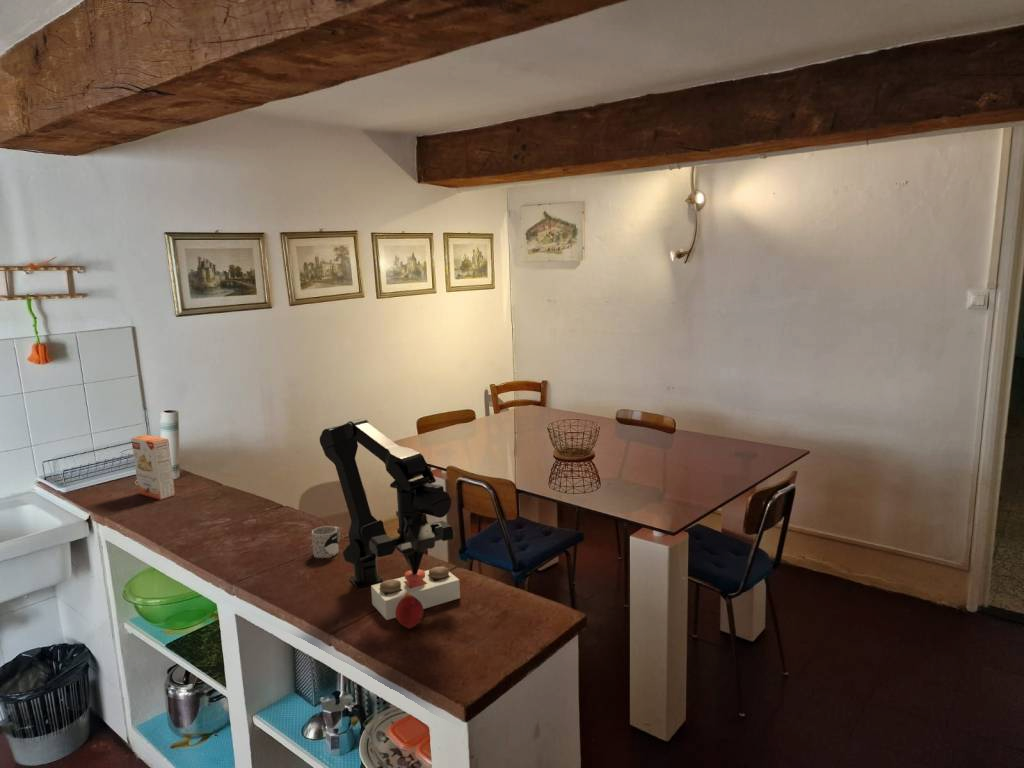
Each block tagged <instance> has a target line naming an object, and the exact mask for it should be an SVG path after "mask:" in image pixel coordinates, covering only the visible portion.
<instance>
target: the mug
mask: <svg viewBox="0 0 1024 768" xmlns="http://www.w3.org/2000/svg"><path fill="white" fill-rule="evenodd" d="M340 541H341V533H340V527H338V526H332V525H331V526H330V525H329V526H328V525H324V526H320V527H319V526H318V527H316V528H315V529H312V530H311V543H312V553H313V554H312V555H314V556H313V557H314V558H315V557H316V558H315V559H318V558H322V559H321V560H324V559H323V558H326V559H330V557H331V558H333V557H332V556H334V557H336V556H337V555H338V554H339V553H338V552H339V542H340ZM336 554H337V555H336ZM335 555H336V556H335Z"/></svg>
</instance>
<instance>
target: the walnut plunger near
mask: <svg viewBox="0 0 1024 768" xmlns="http://www.w3.org/2000/svg"><path fill="white" fill-rule="evenodd" d="M380 583H381V584H380V590H381V591H383V592H384V595H385V596H386V595H389V594H393V593H396V592H398V590H399V589H400V588H401V582H400V581H398V580H394V579H387V580H383V582H380Z"/></svg>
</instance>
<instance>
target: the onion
mask: <svg viewBox="0 0 1024 768" xmlns="http://www.w3.org/2000/svg"><path fill="white" fill-rule="evenodd" d="M395 614H396V617H395V618H396V620H397V622H399V624H401V625H402V626H403V627H405V628H407V629H409V630H410V629H411V630H412V628H414V627H415V626H417V625H418V624H419V623H420V622H421V621H422V618H423V616H424V609H423V606H422V604H421V602H420V601H419V600H418V599H416V598H415V597H413V596H412V595H410V594H409V593H405V597H404V598H402V599H401V600H400V601H399V603H398V605H397V607H396V612H395Z"/></svg>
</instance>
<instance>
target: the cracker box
mask: <svg viewBox="0 0 1024 768" xmlns="http://www.w3.org/2000/svg"><path fill="white" fill-rule="evenodd" d="M130 439H131V445H132V453H133V460H134V469H135V474H136V475H135V476H136V483H137V488H138V489H137V491H138V494H139V495H142V496H146V497H148V498H153V499H156V500H160V501H162V500H165V499H168V498H171V497H174V496H176V491H175V482H174V475H173V466H172V458H171V451H170V443H169V438H166V437H165V438H164V437H160V436H155V435H150V434H144V435H143V434H142V435H138V436H134V437H131V438H130Z"/></svg>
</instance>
